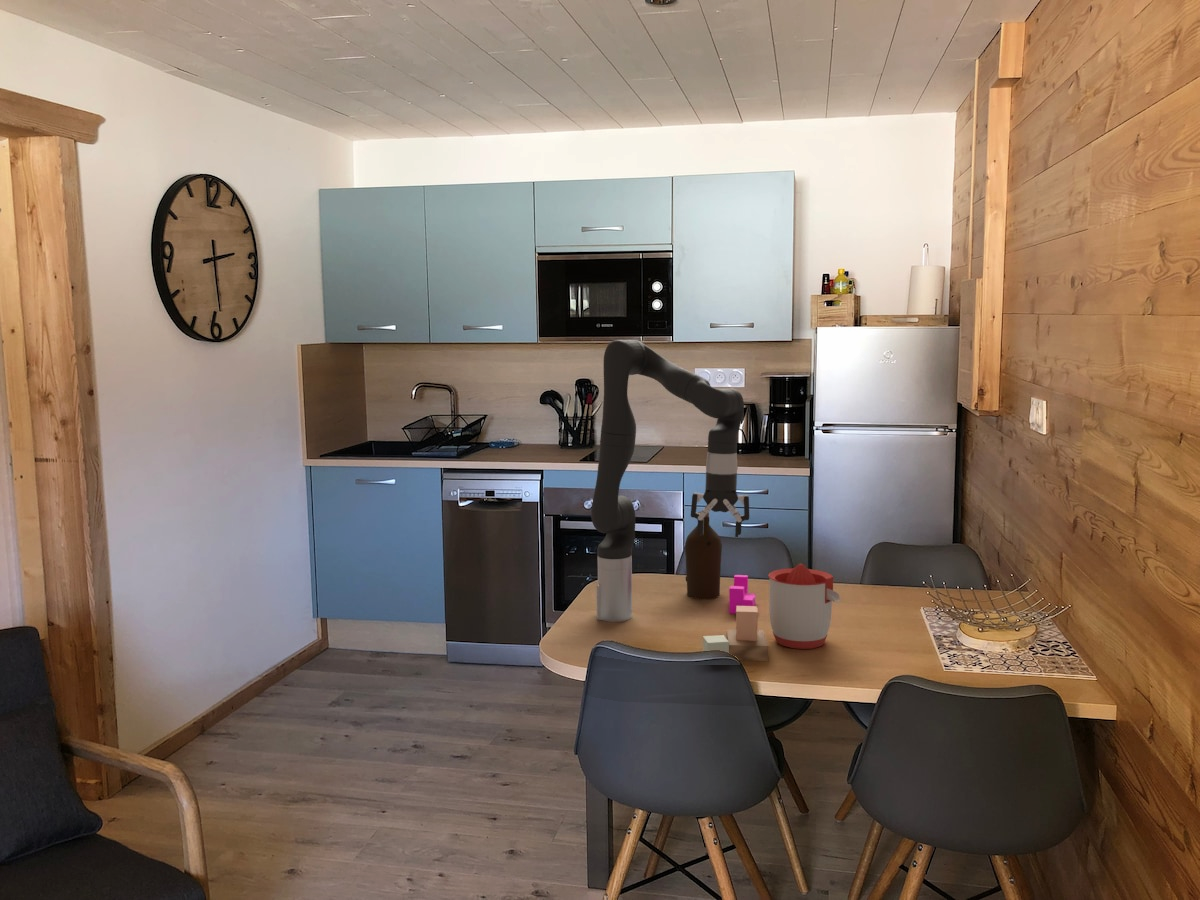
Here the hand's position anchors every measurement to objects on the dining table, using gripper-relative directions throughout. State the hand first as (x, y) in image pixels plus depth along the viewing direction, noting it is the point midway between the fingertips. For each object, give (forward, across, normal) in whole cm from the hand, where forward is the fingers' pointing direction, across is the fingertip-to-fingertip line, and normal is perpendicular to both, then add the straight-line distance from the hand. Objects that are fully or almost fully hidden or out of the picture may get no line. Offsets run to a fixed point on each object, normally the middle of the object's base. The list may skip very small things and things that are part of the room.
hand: (719, 535), depth 234 cm
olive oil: (+28, -5, +40) cm, 49 cm away
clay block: (+23, +8, -8) cm, 25 cm away
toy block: (+28, +7, +30) cm, 41 cm away
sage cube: (+27, 0, -14) cm, 30 cm away
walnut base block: (+27, +8, -8) cm, 29 cm away
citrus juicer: (+26, +22, 0) cm, 34 cm away
